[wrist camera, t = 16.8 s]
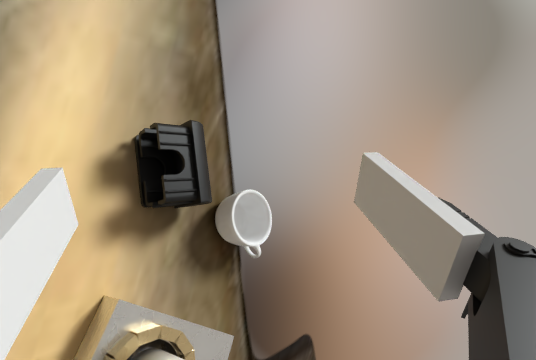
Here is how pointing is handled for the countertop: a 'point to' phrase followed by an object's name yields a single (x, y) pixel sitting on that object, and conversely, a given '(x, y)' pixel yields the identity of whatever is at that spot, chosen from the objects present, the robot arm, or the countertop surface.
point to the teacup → (244, 220)
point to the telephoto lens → (155, 355)
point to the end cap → (173, 165)
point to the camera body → (148, 335)
